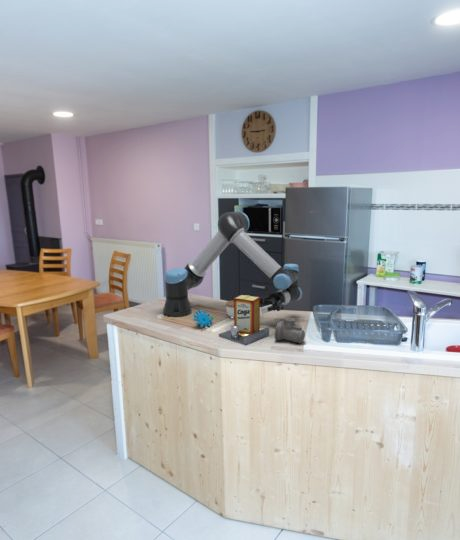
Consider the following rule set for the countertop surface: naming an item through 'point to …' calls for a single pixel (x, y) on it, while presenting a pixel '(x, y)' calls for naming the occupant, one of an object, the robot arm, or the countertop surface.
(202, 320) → the gear
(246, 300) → the baking soda box
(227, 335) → the carrier plate
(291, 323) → the pipe fitting
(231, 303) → the lidded jar
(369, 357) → the countertop surface
